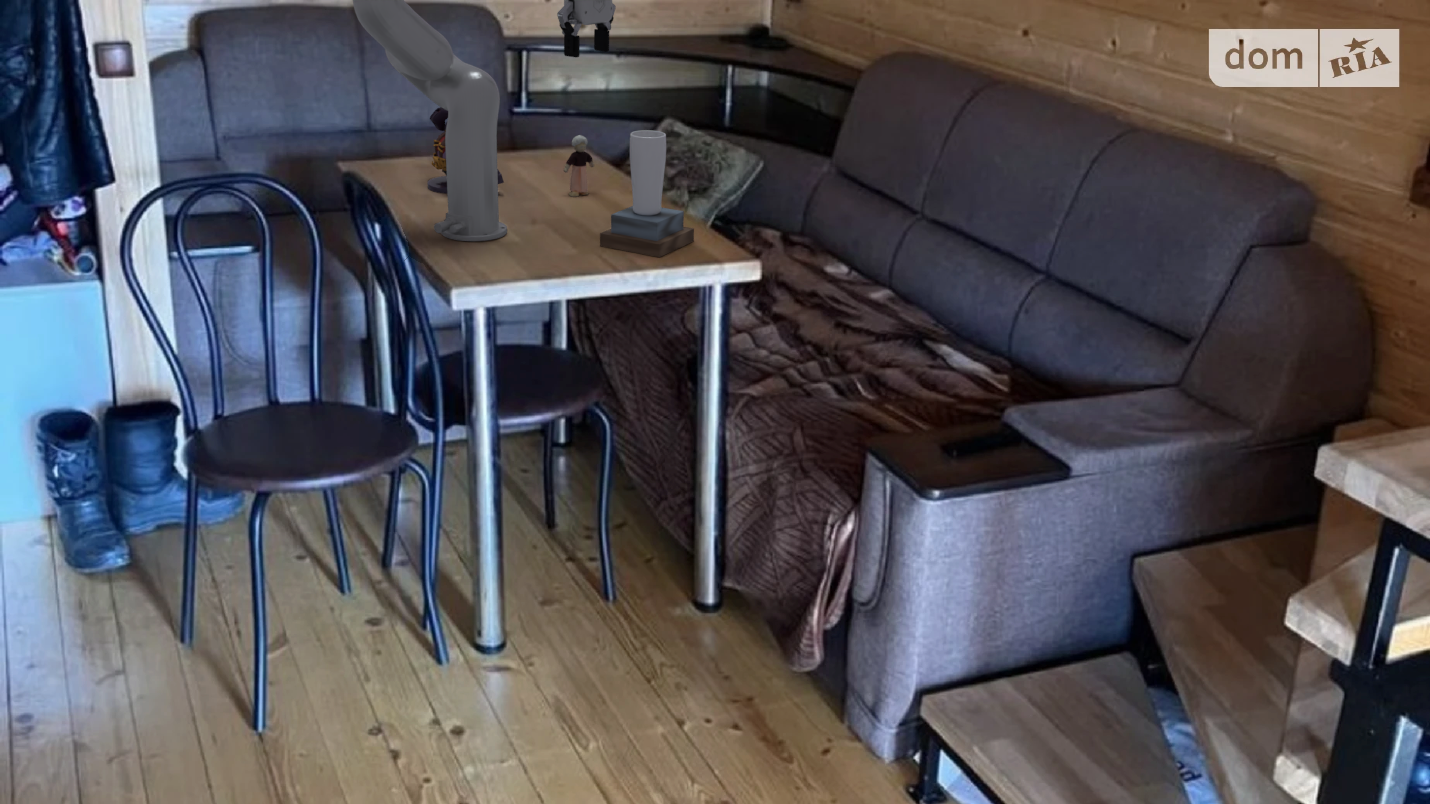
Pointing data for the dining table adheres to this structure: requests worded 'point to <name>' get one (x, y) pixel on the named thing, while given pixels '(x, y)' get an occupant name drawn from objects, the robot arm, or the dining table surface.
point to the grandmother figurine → (578, 167)
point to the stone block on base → (647, 232)
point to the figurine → (442, 153)
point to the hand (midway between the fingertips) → (586, 53)
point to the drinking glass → (647, 170)
